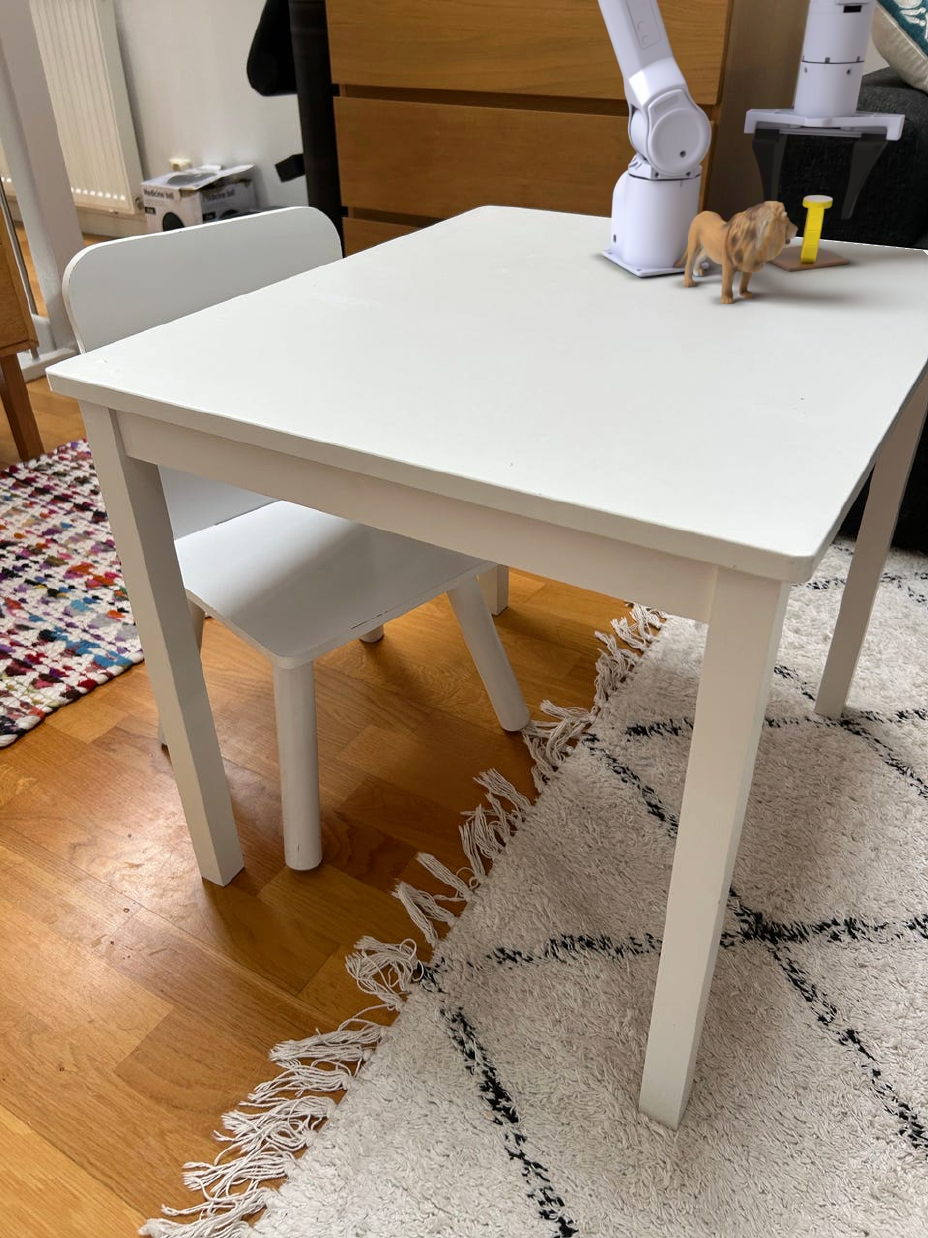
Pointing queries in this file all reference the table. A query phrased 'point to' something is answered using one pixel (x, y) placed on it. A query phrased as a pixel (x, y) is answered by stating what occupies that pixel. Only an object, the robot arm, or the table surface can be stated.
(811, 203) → the yellow signet ring
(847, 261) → the coaster
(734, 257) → the lion figurine
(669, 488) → the table surface
